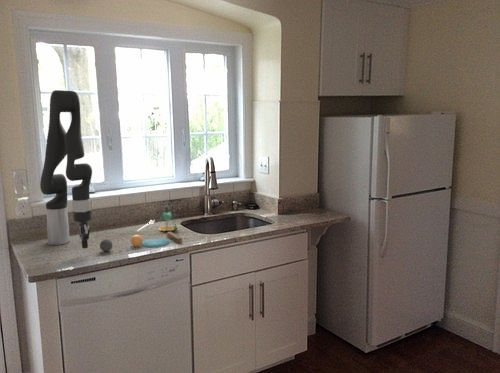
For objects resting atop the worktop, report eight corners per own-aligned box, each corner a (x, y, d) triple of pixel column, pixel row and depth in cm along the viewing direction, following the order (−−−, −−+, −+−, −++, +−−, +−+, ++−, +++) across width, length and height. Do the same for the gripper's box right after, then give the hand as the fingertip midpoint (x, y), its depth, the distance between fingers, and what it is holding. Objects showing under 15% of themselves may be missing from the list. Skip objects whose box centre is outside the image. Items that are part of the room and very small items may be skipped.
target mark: (145, 249, 203) (145, 249, 203) (136, 241, 214) (136, 241, 214) (174, 244, 210) (174, 244, 210) (163, 237, 222) (163, 237, 222)
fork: (134, 232, 234) (134, 228, 234) (150, 222, 253) (149, 219, 253) (140, 232, 233) (140, 228, 233) (155, 222, 253) (155, 219, 252)
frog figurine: (165, 236, 225) (163, 207, 224) (154, 231, 240) (152, 205, 239) (183, 233, 230) (180, 205, 228) (171, 229, 245) (169, 202, 244)
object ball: (130, 248, 204) (130, 237, 203) (130, 245, 209) (129, 233, 208) (143, 247, 206) (142, 236, 205) (142, 244, 211) (141, 232, 210)
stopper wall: (178, 243, 211) (178, 238, 211) (167, 236, 223) (167, 232, 222) (182, 243, 212) (181, 238, 212) (170, 236, 224) (170, 231, 223)
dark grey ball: (100, 253, 197) (99, 241, 196) (100, 250, 202) (99, 238, 201) (112, 252, 198) (112, 240, 197) (112, 248, 204) (112, 237, 203)
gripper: (69, 208, 195) (73, 245, 198) (76, 213, 184) (79, 253, 187) (87, 206, 199) (90, 243, 202) (94, 211, 188) (97, 250, 191)
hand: (85, 247), depth 194 cm, fingers closed
